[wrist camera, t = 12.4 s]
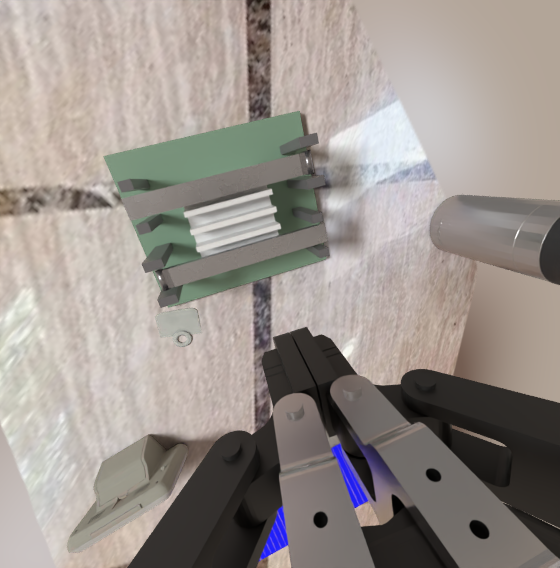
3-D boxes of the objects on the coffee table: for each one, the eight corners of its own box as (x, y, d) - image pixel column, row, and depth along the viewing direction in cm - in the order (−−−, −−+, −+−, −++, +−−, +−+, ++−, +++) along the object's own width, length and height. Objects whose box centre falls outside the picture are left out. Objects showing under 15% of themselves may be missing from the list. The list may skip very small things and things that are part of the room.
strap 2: (321, 221, 35) (324, 222, 34) (325, 240, 36) (328, 242, 35) (155, 269, 32) (153, 272, 31) (163, 289, 33) (162, 291, 32)
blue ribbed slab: (224, 479, 56) (227, 538, 47) (339, 418, 58) (365, 463, 48) (262, 529, 63) (271, 588, 54) (364, 474, 65) (389, 522, 56)
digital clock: (106, 496, 50) (82, 571, 41) (78, 462, 47) (44, 535, 37) (197, 457, 52) (194, 521, 42) (176, 422, 49) (168, 482, 39)
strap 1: (308, 150, 32) (311, 149, 31) (312, 173, 33) (315, 172, 32) (122, 197, 29) (120, 197, 28) (133, 220, 30) (131, 221, 29)
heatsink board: (297, 112, 38) (324, 91, 29) (324, 257, 45) (352, 276, 36) (106, 157, 34) (71, 148, 26) (169, 304, 42) (159, 337, 33)
